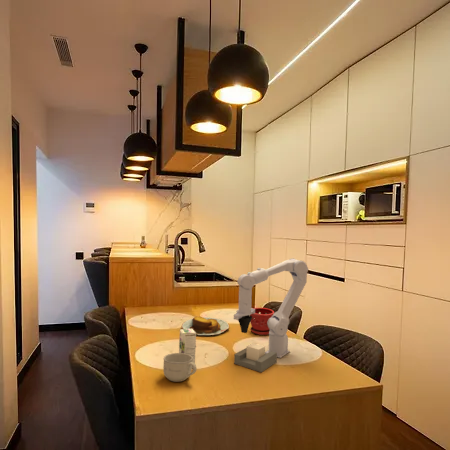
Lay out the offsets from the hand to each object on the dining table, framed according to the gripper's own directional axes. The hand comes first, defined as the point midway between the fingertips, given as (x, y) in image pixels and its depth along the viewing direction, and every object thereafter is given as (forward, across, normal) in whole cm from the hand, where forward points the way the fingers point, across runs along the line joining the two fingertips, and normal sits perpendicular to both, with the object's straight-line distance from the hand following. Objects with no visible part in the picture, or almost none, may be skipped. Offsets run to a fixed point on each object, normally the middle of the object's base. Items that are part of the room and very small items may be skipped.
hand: (244, 332), depth 148 cm
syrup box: (+11, +24, -12) cm, 29 cm away
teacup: (+11, +34, -6) cm, 36 cm away
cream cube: (+10, +3, +8) cm, 13 cm away
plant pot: (+11, -33, -10) cm, 36 cm away
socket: (+10, +3, +8) cm, 13 cm away
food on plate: (+11, -18, -36) cm, 42 cm away
